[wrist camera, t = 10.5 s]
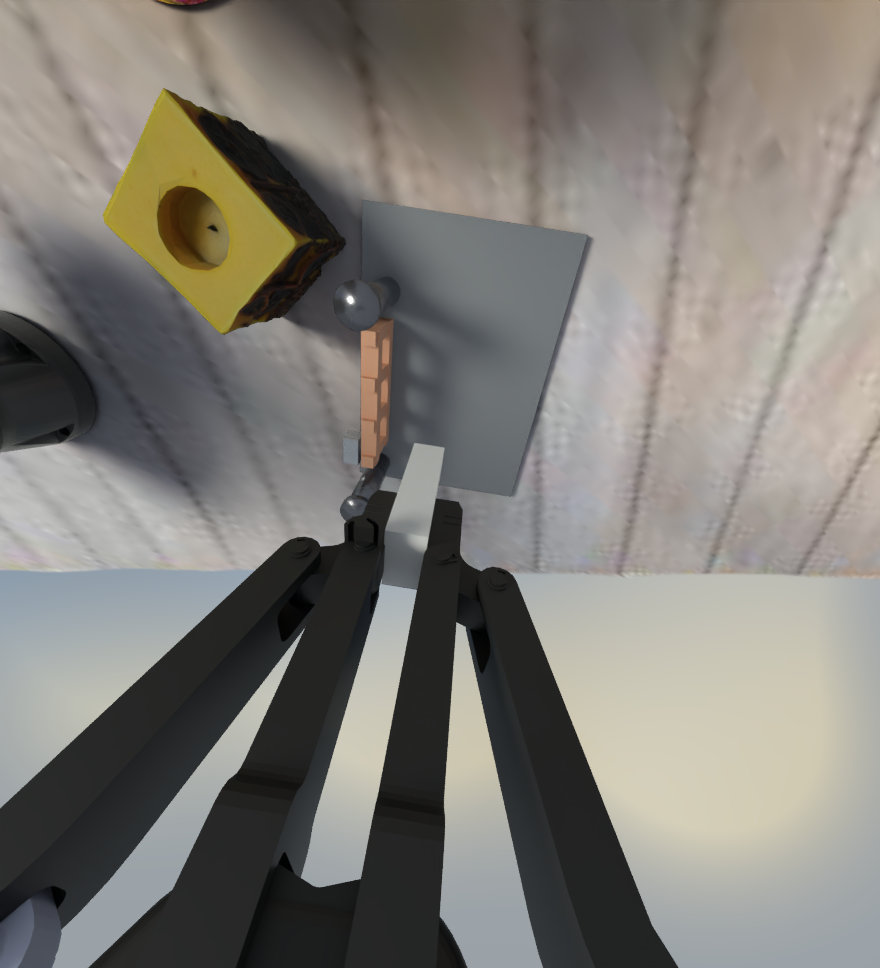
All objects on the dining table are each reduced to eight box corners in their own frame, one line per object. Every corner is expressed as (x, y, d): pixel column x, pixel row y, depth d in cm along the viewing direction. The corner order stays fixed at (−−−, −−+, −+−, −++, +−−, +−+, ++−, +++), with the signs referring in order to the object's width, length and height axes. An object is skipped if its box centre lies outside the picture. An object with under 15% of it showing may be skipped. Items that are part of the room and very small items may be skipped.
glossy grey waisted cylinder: (372, 306, 35) (334, 327, 26) (372, 268, 33) (332, 277, 24) (404, 311, 35) (378, 334, 26) (407, 274, 33) (379, 284, 24)
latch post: (356, 466, 45) (325, 520, 36) (356, 419, 42) (322, 466, 33) (393, 472, 45) (371, 527, 36) (396, 425, 42) (373, 474, 33)
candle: (349, 243, 33) (303, 242, 24) (283, 320, 37) (225, 342, 28) (255, 125, 29) (163, 76, 20) (194, 226, 33) (97, 219, 25)
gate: (378, 316, 35) (359, 329, 29) (393, 318, 35) (377, 332, 29) (375, 438, 42) (359, 466, 36) (388, 440, 42) (374, 468, 36)
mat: (361, 469, 46) (360, 472, 45) (363, 200, 31) (361, 199, 30) (510, 493, 45) (510, 496, 45) (586, 235, 30) (588, 234, 30)
